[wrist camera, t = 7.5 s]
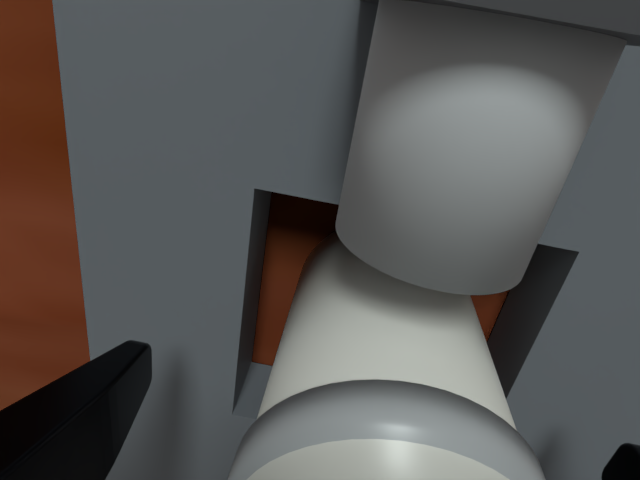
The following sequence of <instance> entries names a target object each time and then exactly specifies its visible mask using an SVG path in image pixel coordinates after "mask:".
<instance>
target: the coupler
mask: <svg viewBox="0 0 640 480" xmlns="http://www.w3.org/2000/svg"><path fill="white" fill-rule="evenodd" d="M228 480H546V479H545V476H544V474H543V471H542V468H541V466H540V463H539V460H538V458H537V457H536V455H535V453H534V452H533V450H532V448H531V447H530V445H529V444H528V443H527V442H526V440H525V439H524V438H523V437H522V436H521V434H520V433H519V432H518V431H517V430H516V427H515V424H514V421H513V418H512V415H511V412H510V409H509V407H508V404H507V401H506V398H505V395H504V392H503V389H502V386H501V383H500V380H499V378H498V375H497V372H496V369H495V366H494V363H493V360H492V357H491V354H490V351H489V348H488V346H487V343H486V340H485V337H484V334H483V331H482V328H481V325H480V322H479V319H478V316H477V314H476V311H475V308H474V305H473V302H472V299H471V296H470V295H463V294H453V293H447V292H441V291H436V290H432V289H427V288H423V287H420V286H417V285H413V284H410V283H407V282H405V281H402V280H399V279H397V278H394V277H392V276H390V275H388V274H385V273H383V272H381V271H379V270H377V269H375V268H374V267H372V266H370V265H368V264H367V263H365V262H364V261H362V260H361V259H359V258H358V257H357V256H356V255H354V254H353V253H352V252H351V251H350V250H349V249H348V248H347V247H346V246H345V245H344V244H343V243H342V241H341V240H340V239H339V237H338V235H337V232H336V231H334V232H332V233H331V234H330V235H328V236H327V237H325V238H324V239H323V240H322V241H321V242H320V243H318V244H317V245H316V247H315V248H314V249H313V250H312V251H311V253H310V254H309V256H308V258H307V259H306V261H305V263H304V266H303V268H302V271H301V274H300V278H299V281H298V284H297V287H296V291H295V294H294V297H293V301H292V304H291V307H290V311H289V314H288V317H287V321H286V324H285V327H284V330H283V334H282V337H281V340H280V344H279V347H278V350H277V354H276V357H275V360H274V364H273V367H272V370H271V374H270V377H269V380H268V383H267V387H266V390H265V393H264V397H263V400H262V403H261V407H260V410H259V413H258V417H257V420H256V421H255V422H254V423H253V424H252V425H251V426H250V428H249V429H248V430H247V432H246V433H245V435H244V436H243V438H242V440H241V442H240V445H239V447H238V449H237V452H236V455H235V458H234V461H233V464H232V467H231V470H230V473H229V477H228Z"/></svg>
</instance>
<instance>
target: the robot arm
mask: <svg viewBox="0 0 640 480" xmlns="http://www.w3.org/2000/svg"><path fill="white" fill-rule="evenodd" d="M151 380H152V349H151V346H150V345H149V344H148V343H144V342H139V341H135V340H128V341H126V342H124V343H122V344H120V345H118V346H116V347H115V348H113V349H111V350H109V351H107V352H106V353H104V354H102V355H100V356H98V357H97V358H95V359H93V360H91V361H89V362H87V363H86V364H84V365H82V366H80V367H78V368H77V369H75V370H73V371H71V372H69V373H68V374H66V375H64V376H62V377H60V378H59V379H57V380H55V381H53V382H51V383H50V384H48V385H46V386H44V387H42V388H41V389H39V390H37V391H35V392H33V393H31V394H30V395H28V396H26V397H24V398H22V399H21V400H19V401H17V402H15V403H13V404H12V405H10V406H8V407H6V408H4V409H3V410H1V411H0V480H105V479H106V478H107V476H108V474H109V472H110V470H111V469H112V467H113V465H114V463H115V461H116V459H117V457H118V455H119V453H120V451H121V448H122V446H123V444H124V442H125V440H126V437H127V435H128V433H129V431H130V429H131V427H132V424H133V422H134V420H135V418H136V416H137V413H138V411H139V409H140V407H141V405H142V402H143V400H144V398H145V396H146V394H147V391H148V389H149V387H150V384H151ZM601 479H602V480H640V445H636V444H631V443H624V444H622V445H620V446H619V447H618V449H617V450H616V452H615V453H614V454H613V456H612V457H611V459H610V460H609V461H608V463H607V464H606V466H605V467H604V469H603V471H602V477H601Z"/></svg>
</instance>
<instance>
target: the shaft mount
mask: <svg viewBox="0 0 640 480" xmlns="http://www.w3.org/2000/svg"><path fill="white" fill-rule="evenodd" d="M52 2H53V11H54V21H55V30H56V40H57V49H58V58H59V68H60V77H61V87H62V96H63V106H64V115H65V125H66V134H67V144H68V153H69V163H70V172H71V181H72V191H73V200H74V210H75V219H76V229H77V238H78V248H79V257H80V267H81V276H82V285H83V295H84V304H85V314H86V323H87V333H88V342H89V352H90V361H91V360H93V359H95V358H97V357H98V356H100V355H102V354H104V353H106V352H107V351H109V350H111V349H113V348H115V347H116V346H118V345H120V344H122V343H124V342H126V341H128V340H135V341H139V342H144V343H148V344H149V345H150V346H151V349H152V380H151V384H150V387H149V389H148V391H147V394H146V396H145V398H144V400H143V402H142V405H141V407H140V409H139V411H138V413H137V416H136V418H135V420H134V422H133V424H132V427H131V429H130V431H129V433H128V435H127V437H126V440H125V442H124V444H123V446H122V448H121V451H120V453H119V455H118V457H117V459H116V461H115V463H114V465H113V467H112V469H111V470H110V472H109V474H108V476H107V478H106V479H105V480H228V477H229V473H230V470H231V467H232V464H233V461H234V458H235V455H236V452H237V449H238V447H239V445H240V442H241V440H242V438H243V436H244V435H245V433H246V432H247V430H248V429H249V428H250V426H251V425H252V424H253V423H254V422H255V421H256V420H257V417H258V413H259V410H260V407H261V403H262V400H263V397H264V393H265V390H266V387H267V383H268V380H269V377H270V374H271V370H272V367H273V366H269V365H264V364H259V363H254V362H252V354H253V346H254V337H255V329H256V320H257V312H258V303H259V295H260V286H261V278H262V269H263V261H264V252H265V244H266V235H267V227H268V218H269V210H270V201H271V193H272V192H276V193H281V194H286V195H291V196H296V197H301V198H306V199H311V200H317V201H322V202H327V203H332V204H337V205H339V208H338V213H337V218H336V225H335V228H336V232H337V235H338V237H339V239H340V240H341V241H342V243H343V244H344V245H345V246H346V247H347V248H348V249H349V250H350V251H351V252H352V253H353V254H354V255H356V256H357V257H358V258H359V259H361V260H362V261H364V262H365V263H367V264H368V265H370V266H372V267H374V268H375V269H377V270H379V271H381V272H383V273H385V274H388V275H390V276H392V277H394V278H397V279H399V280H402V281H405V282H407V283H410V284H413V285H417V286H420V287H423V288H427V289H432V290H436V291H441V292H447V293H453V294H463V295H488V294H495V293H500V292H504V291H507V290H509V289H510V291H509V294H508V296H507V298H506V300H505V303H504V305H503V307H502V310H501V312H500V314H499V317H498V319H497V321H496V324H495V326H494V328H493V330H492V333H491V335H490V337H489V340H488V342H487V346H488V348H489V351H490V354H491V357H492V360H493V363H494V366H495V369H496V372H497V375H498V378H499V380H500V383H501V386H502V389H503V392H504V395H505V398H506V401H507V404H508V407H509V409H510V412H511V415H512V418H513V421H514V424H515V427H516V430H517V431H518V432H519V433H520V434H521V436H522V437H523V438H524V439H525V440H526V442H527V443H528V444H529V445H530V447H531V448H532V450H533V452H534V453H535V455H536V457H537V458H538V460H539V463H540V466H541V468H542V471H543V474H544V476H545V479H546V480H602V479H601V477H602V471H603V469H604V467H605V466H606V464H607V463H608V461H609V460H610V459H611V457H612V456H613V454H614V453H615V452H616V450H617V449H618V447H619V446H620V445H622V444H624V443H631V444H636V445H640V0H52Z"/></svg>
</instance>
